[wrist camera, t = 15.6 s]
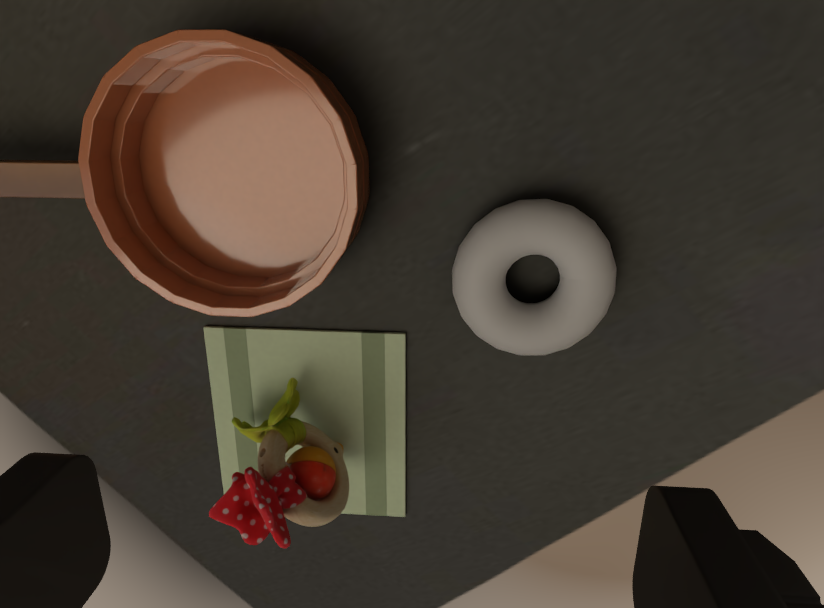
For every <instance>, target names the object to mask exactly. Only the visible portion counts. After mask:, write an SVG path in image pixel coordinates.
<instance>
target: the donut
mask: <svg viewBox="0 0 824 608" xmlns="http://www.w3.org/2000/svg"><path fill="white" fill-rule="evenodd" d="M527 255H542V256H546V257H548V258H550V259H551V260H552V261H553V262H554V263H555V264H556V266H557V267H558V270H559V273H560V282H559V284H558V287H557V289H556V290H555V292H554V293H553V294H552V295H551V296H550V297H549V298H547V299H546V300H544V301H541V302H538V303H524V302H520V301H518V300H516V299H515V298H513V297H512V296H511V295H510V293H509V292H508V290H507V287H506V274H507V271H508V269H509V268H510V267H511V265H512V264H513V263H514V262H515V261H517V260H518V259H520V258H521V257H524V256H527ZM616 270H617V268H616V264H615V260H614V257H613V253H612V250H611V246H610V243H609V241H608V239H607V238H606V236H605V235H604V234H603V232H602V231H601V229H600V228H599V227H598V225H597V224H596V222H595V221H594V220H592V219H591V218H589V217H588V216H587V215H585V214H584V213H582V212H581V211H579V210H578V209H576V208H575V207H574V206H571V205H567V204H564V203H560V202H557V201H553V200H550V199H528V200H518V201H515V202H513V203H510V204H507V205H504V206H501V207H498V208H496V209H494V210H493V211H492V212H490V213H489V214H488V215H486V216H485V217H484V218H482V219H481V220H480V221H478V222H477V223H476V224H475V225H474V226H473V227H472V229H471V230H470V231H469V233H468V234H467V236H466V237H465V239H464V240H463V241H462V243H461V244H460V246H459V249H458V252H457V255H456V258H455V261H454V265H453V268H452V286H453V295H454V298H455V301H456V304H457V306H458V309H459V312H460V314H461V317H462V318H463V320H464V321H465V322H466V323H467V324H468V326H469V327H470V328H471V329H472V331H473V332H474V333H475V334H476V336H478V337H479V338H481V339H482V340H484V341H485V342H487V343H489V344H490V345H492V346H493V347H495V348H496V349H499V350H503V351H506V352H510V353H513V354H517V355H547V354H550V353H553V352H557V351H560V350H563V349H567V348H569V347H571V346H572V345H574V344H575V343H577V342H578V341H580V340H581V339H583V338H584V337H586V336H588V335H589V334H590V333H591V332H592V331H593V329H594V328H595V327H596V326H597V325H598V324H599V322H600V321H601V320H602V319H603V318H604V316H605V315H606V313H607V310H608V308H609V306H610V303H611V301H612V298H613V296H614V294H615V284H616Z"/></svg>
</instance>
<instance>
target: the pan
mask: <svg viewBox="0 0 824 608" xmlns="http://www.w3.org/2000/svg"><path fill="white" fill-rule="evenodd" d="M78 162H79V167H80V173H81V178H82V184H83V189H84V195H85V200H86V204H87V207H88V209H89V211H90V213H91V215H92V217H93V219H94V221H95V223H96V225H97V227H98V229H99V231H100V233H101V235H102V237H103V239H104V241H105V243H106V244H107V247H108V248H109V249H110V250H111V251H112V252H113V253H114V255H115V256H116V257H117V258H118V259H119V260H120V261H121V263H122V264H123V265H124V266H125V267H126V268H127V269H128V271H129V272H130V273H131V274H132V275H133V276H134V277H135V278H136V279H137V280H138V281H140V282H141V283H143V284H144V285H146V286H147V287H149V288H150V289H152V290H153V291H155V292H156V293H158V294H159V295H161V296H162V297H164V298H165V299H167V300H168V301H170V302H172V303H174V304H177V305H180V306H183V307H186V308H189V309H192V310H195V311H198V312H201V313H204V314H207V315H212V316H235V317H254V316H257V315H261V314H264V313H268V312H271V311H275V310H278V309H282V308H285V307H289V306H291V305H292V304H294V303H295V302H296V301H298V300H299V299H301V298H302V297H304V296H305V295H306V294H308V293H309V292H311V291H312V290H314V289H315V288H317V287H318V286H319V285H321V284H322V283H323V282H324V280H325V279H326V277H327V276H328V275H329V273H330V272H331V271H332V269H333V268H334V266H335V265H336V264H337V262H338V261H339V260H340V258H341V257H342V255H343V254H344V253H345V251H346V250H347V248H348V247H349V246H350V244H351V243H352V241H353V240H354V239H355V237H356V236H357V234H358V232H359V229H360V226H361V222H362V219H363V216H364V213H365V209H366V206H367V203H368V199H369V157H368V153H367V150H366V147H365V144H364V141H363V138H362V135H361V132H360V128H359V125H358V122H357V119H356V116H355V115H354V113H353V111H352V110H351V108H350V107H349V106H348V104H347V103H346V101H345V100H344V99H343V97H342V96H341V94H340V93H339V92H338V90H337V89H336V87H335V86H334V84H333V83H332V82H331V80H330V79H329V78H328V77H327V76H326V75H324V74H323V73H322V72H320V71H319V70H318V69H316V68H315V67H314V66H312V65H311V64H310V63H309V62H307V61H306V60H305V59H303V58H302V57H301V56H299V55H298V54H297V53H296V52H293V51H292V50H289V49H286V48H283V47H280V46H278V45H275V44H272V43H269V42H266V41H263V40H260V39H258V38H255V37H251V36H247V35H244V34H240V33H236V32H232V31H229V30H224V29H208V30H176V31H173V32H170V33H168V34H165V35H163V36H160V37H158V38H155V39H152V40H150V41H147V42H145V43H142V44H139V45H137V46H136V47H134V48H133V49H132V50H131V51H130V52H129V53H128V54H127V55H125V56H124V57H123V58H122V59H121V60H120V61H119V62H118V63H117V64H116V65H115V66H114V67H113V68H111V69H110V70H109V71H108V72H107V73H106V74H105V75H104V77H103V78H102V80H101V82H100V84H99V86H98V88H97V90H96V92H95V94H94V96H93V98H92V100H91V102H90V104H89V106H88V108H87V110H86V112H85V114H84V117H83V125H82V133H81V141H80V149H79V157H78Z"/></svg>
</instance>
